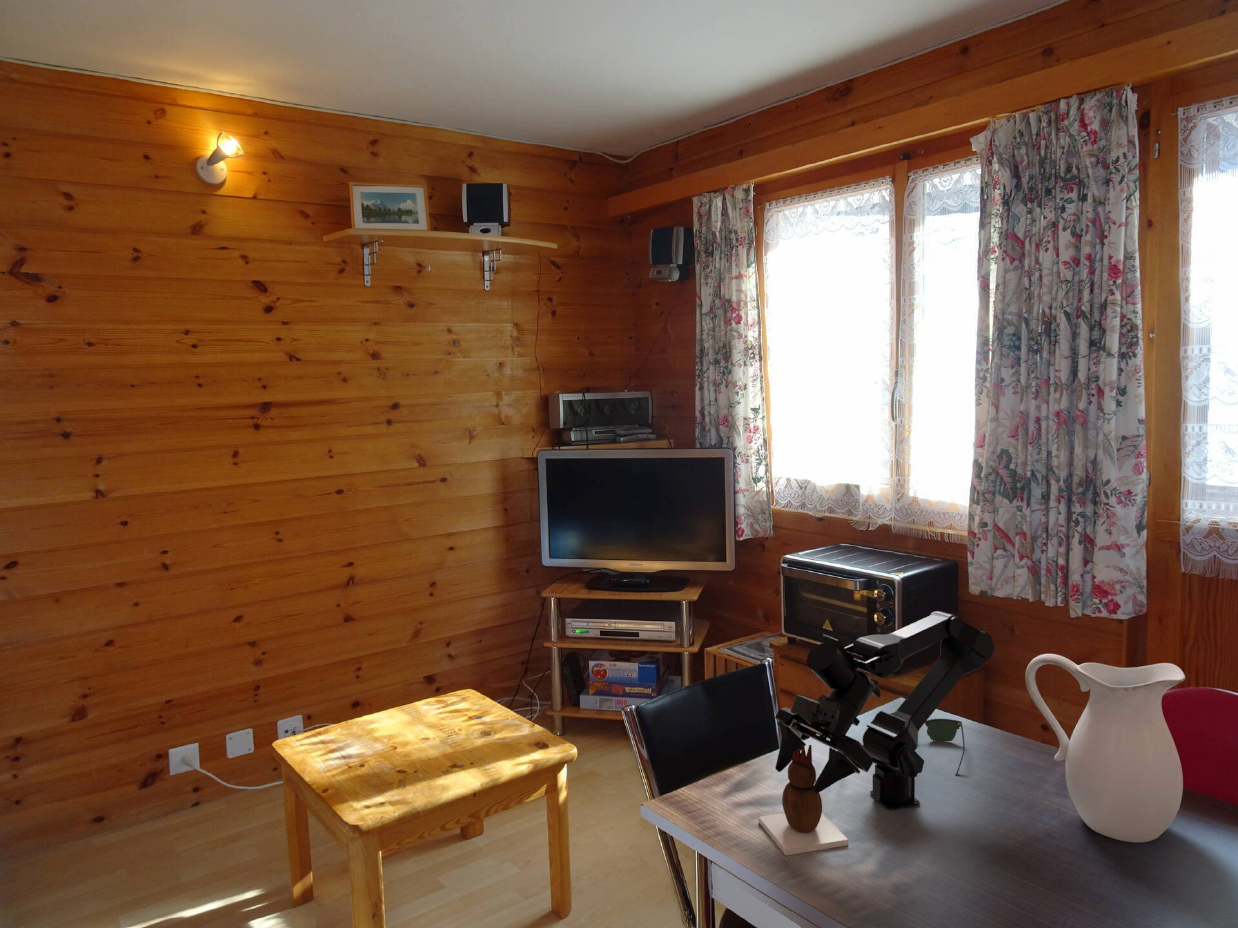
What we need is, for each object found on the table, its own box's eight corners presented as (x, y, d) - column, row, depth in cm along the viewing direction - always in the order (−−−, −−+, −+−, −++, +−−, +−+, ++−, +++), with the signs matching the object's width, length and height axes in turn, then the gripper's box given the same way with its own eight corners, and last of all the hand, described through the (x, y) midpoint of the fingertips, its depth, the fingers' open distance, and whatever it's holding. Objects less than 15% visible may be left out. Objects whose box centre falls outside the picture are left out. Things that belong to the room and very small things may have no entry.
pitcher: (1190, 822, 147) (1196, 661, 144) (1168, 865, 134) (1174, 690, 132) (1040, 781, 163) (1042, 635, 160) (1007, 815, 151) (1010, 658, 148)
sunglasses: (883, 771, 169) (883, 747, 169) (879, 736, 185) (879, 714, 185) (974, 779, 165) (974, 753, 165) (961, 742, 182) (961, 719, 181)
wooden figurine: (827, 833, 144) (827, 746, 143) (796, 839, 142) (795, 751, 141) (808, 814, 151) (807, 731, 149) (777, 820, 149) (776, 735, 147)
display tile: (817, 813, 153) (817, 807, 153) (848, 844, 142) (848, 839, 142) (758, 822, 150) (758, 816, 150) (785, 855, 140) (785, 849, 140)
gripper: (782, 662, 154) (733, 736, 150) (860, 693, 138) (807, 777, 133) (816, 696, 159) (769, 769, 154) (895, 730, 142) (845, 813, 138)
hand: (795, 780), depth 145 cm, fingers open, 9 cm apart
